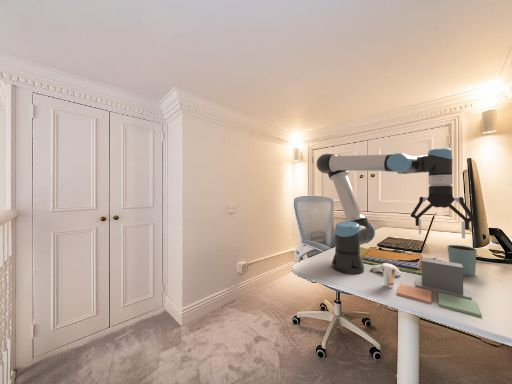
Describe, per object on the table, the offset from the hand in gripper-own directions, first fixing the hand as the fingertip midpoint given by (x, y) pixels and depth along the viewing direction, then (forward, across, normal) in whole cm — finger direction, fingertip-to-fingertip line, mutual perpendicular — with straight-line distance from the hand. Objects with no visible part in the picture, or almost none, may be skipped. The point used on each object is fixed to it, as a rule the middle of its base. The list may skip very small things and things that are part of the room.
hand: (440, 235), depth 87 cm
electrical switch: (+21, -1, +7) cm, 22 cm away
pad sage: (+21, +4, -17) cm, 27 cm away
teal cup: (+21, +8, +24) cm, 33 cm away
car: (+21, -20, 0) cm, 29 cm away
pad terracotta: (+21, -8, -17) cm, 28 cm away
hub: (+21, 0, -6) cm, 22 cm away
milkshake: (+21, -17, -16) cm, 31 cm away
